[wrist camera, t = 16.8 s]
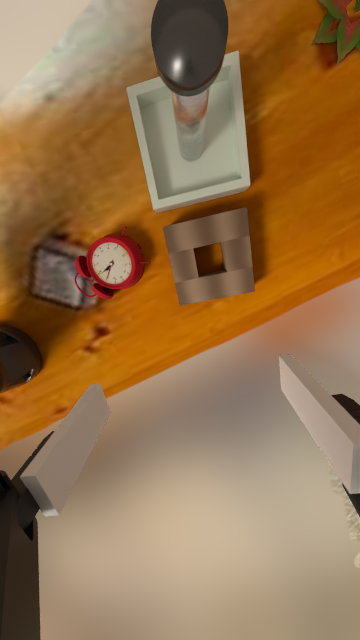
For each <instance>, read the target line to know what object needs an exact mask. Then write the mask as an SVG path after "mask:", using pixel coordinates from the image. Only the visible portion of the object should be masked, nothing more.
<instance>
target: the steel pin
mask: <svg viewBox="0 0 360 640" xmlns="http://www.w3.org/2000/svg"><path fill="white" fill-rule="evenodd" d="M227 36H228V16H227V10H226V6H225V3H224V1H223V0H158V2H157V4H156V7H155V10H154V14H153V18H152V25H151V40H152V47H153V52H154V57H155V62H156V66H157V70H158V73H159V75H160V77H161V79H162V81H163V82H164V84H165V85H166V86H167V87H168V88H169V89H170V90H171V94H172V101H173V108H174V116H175V123H176V130H177V138H178V145H179V152H180V155H181V156H182V158H183V159H184V160H186V161H188V162H193V161H196V160H197V159H199V158H200V156H201V155H202V152H203V148H204V138H205V128H206V118H207V108H208V97H209V87H210V86H211V85H212V84H213V82H214V81H215V80H216V78H217V76H218V74H219V72H220V70H221V67H222V64H223V60H224V55H225V49H226V43H227Z"/></svg>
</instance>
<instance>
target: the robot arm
mask: <svg viewBox="0 0 360 640" xmlns="http://www.w3.org/2000/svg"><path fill="white" fill-rule="evenodd" d="M41 363H42V361H41V355H40V352H39V350H38V348H37V346H36V344H35V343H34V342H33V341H32V340H31V339H30V338H29V337H28V336H27V335H26V334H25V333H23V332H22V331H20V330H18V329H16V328H13V327H9V326H3V325H0V393H3V392H5V391H8V390H11V389H13V388H16V387H19V386H21V385H24V384H26V383H27V382H29V381H30V380H31V379H33V378H34V377H35V376H36V375H37V374H38V373H39V371H40V368H41ZM279 363H280V377H281V390H282V391H283V393H284V394H285V396H286V397H287V399H288V400H289V402H290V403H291V405H292V406H293V408H294V410H295V411H296V413H297V414H298V416H299V417H300V418H301V420H302V422H303V423H304V425H305V426H306V428H307V429H308V431H309V432H310V434H311V435H312V437H313V439H314V440H315V442H316V443H317V445H318V446H319V448H320V449H321V450H322V452H323V454H324V455H325V457H326V458H327V460H328V461H329V463H330V464H331V466H332V467H333V469H334V471H335V472H336V474H337V475H338V477H339V478H340V480H341V481H342V483H343V484H344V486H345V487H346V489H347V490H348V492H349V493H350V494H357V493H360V405H359V404H357V403H356V402H355V401H354V400H353V399H351V398H348V397H347V396H345V395H343V394H337V395H330V394H329V393H328V392H327V391H326V390H325V389H324V388H323V387H322V386H321V385H320V384H319V383H318V382H317V380H316V379H315V378H314V377H312V375H311V374H310V373H309V372H308V371H307V370H306V369H305V368H304V367H303V366H302V365H301V364H300V363H299V362H298V361H297V360H296V359H295V358H294V357H293V356H292V355H291V354H288V355H281V356H279ZM110 413H111V411H110V408H109V406H108V403H107V401H106V398H105V396H104V393H103V390H102V388H101V385H100V383H98V384H92V385H90V386H89V387H88V388H87V390H86V391H85V392H84V394H83V395H82V396H81V398H80V399H79V400H78V401H77V403H76V404H75V405H74V407H73V408H72V409H71V411H70V412H69V413H68V415H67V416H66V417H65V418H64V420H63V421H62V422H61V424H60V425H59V426H58V428H57V429H56V430H55V431H52V432H51V433H50V434H49V435H48V436H47V437H45V438H44V439H43V441H42V442H41V443H40V444H39V446H38V447H37V449H36V450H35V451H34V452H33V453H32V456H30V457H29V458H28V460H27V461H26V462H25V463H24V465H23V466H22V467H21V468H20V470H19V471H18V472H17V473H16V475H15V476H14V477H13V479H12V480H10V478H9V477H8V475H7V474H6V472H5V471H2V470H1V471H0V640H40V607H39V569H38V568H39V566H38V526H37V519H36V518H35V515H36V513H37V512H38V510H39V509H41V511H42V512H43V514H44V516H54V515H59V514H60V512H61V510H62V508H63V506H64V504H65V502H66V500H67V498H68V496H69V494H70V492H71V490H72V488H73V486H74V484H75V482H76V480H77V479H78V477H79V475H80V473H81V471H82V469H83V466H84V464H85V463H86V461H87V459H88V456H89V455H90V453H91V451H92V449H93V447H94V445H95V443H96V441H97V439H98V437H99V435H100V433H101V431H102V429H103V427H104V425H105V423H106V421H107V419H108V417H109V415H110Z"/></svg>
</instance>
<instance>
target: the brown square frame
mask: <svg viewBox="0 0 360 640" xmlns="http://www.w3.org/2000/svg"><path fill="white" fill-rule="evenodd" d="M163 230H164V234H165V239H166V244H167V248H168V253H169V257H170V262H171V267H172V271H173V276H174V281H175V285H176V290H177V294H178V299H179V304H180V306H181V305H186V304H191V303H197V302H202V301H207V300H212V299H217V298H223V297H228V296H233V295H238V294H244V293H249V292H254V291H255V286H254V276H253V266H252V255H251V245H250V234H249V224H248V213H247V207H244V208H240V209H235V210H231V211H227V212H223V213H219V214H215V215H211V216H206V217H202V218H198V219H194V220H190V221H186V222H181V223H177V224H173V225H169V226H165V227H163ZM216 243H220V245H221V252H222V259H223V266H224V270H223V271H218V272H213V273H208V274H203V275H199V276H198V272H197V266H196V260H195V255H194V248H198V247H203V246H207V245H212V244H216Z"/></svg>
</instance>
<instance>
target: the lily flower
mask: <svg viewBox="0 0 360 640" xmlns="http://www.w3.org/2000/svg"><path fill="white" fill-rule="evenodd" d="M318 1H319V2H320V3H322V4H323V5H324V6H325V7H326V8H327V9H328V11H329V13H328V14H327V15H326V16H325V18H324V19H323V21H322V23H321V25H320V27H319V30H318V32H317V35H316V39H314V41H313V43H312V44H315V43H321V42H322V43H331V42H336V41H337V55H338V60H337V65H338V64H339V62H340V61H341V60H342V59H343V58H344V57H345V56H346V54H347V53H349V52H350V51H351V50H352V49H353V48H354V46H355V47H356V48H357V49H358V50H360V18H359V19H358V20H356V21H355V22H353V23H352V24H351V23H350V20H349V17H348V15H347V10H346V6H347V5H348V4H349V3H350V2H351V1H352V0H318ZM354 9H355V10H356V11H357V12H358V10H360V0H359V2H358V0H356V4H355V7H354ZM356 11H355V12H356ZM336 19H339V20H341V22H340V24H339V27H338V29H335V30H330V29H331V28H332V25H333V24H334V22H335V20H336Z"/></svg>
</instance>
